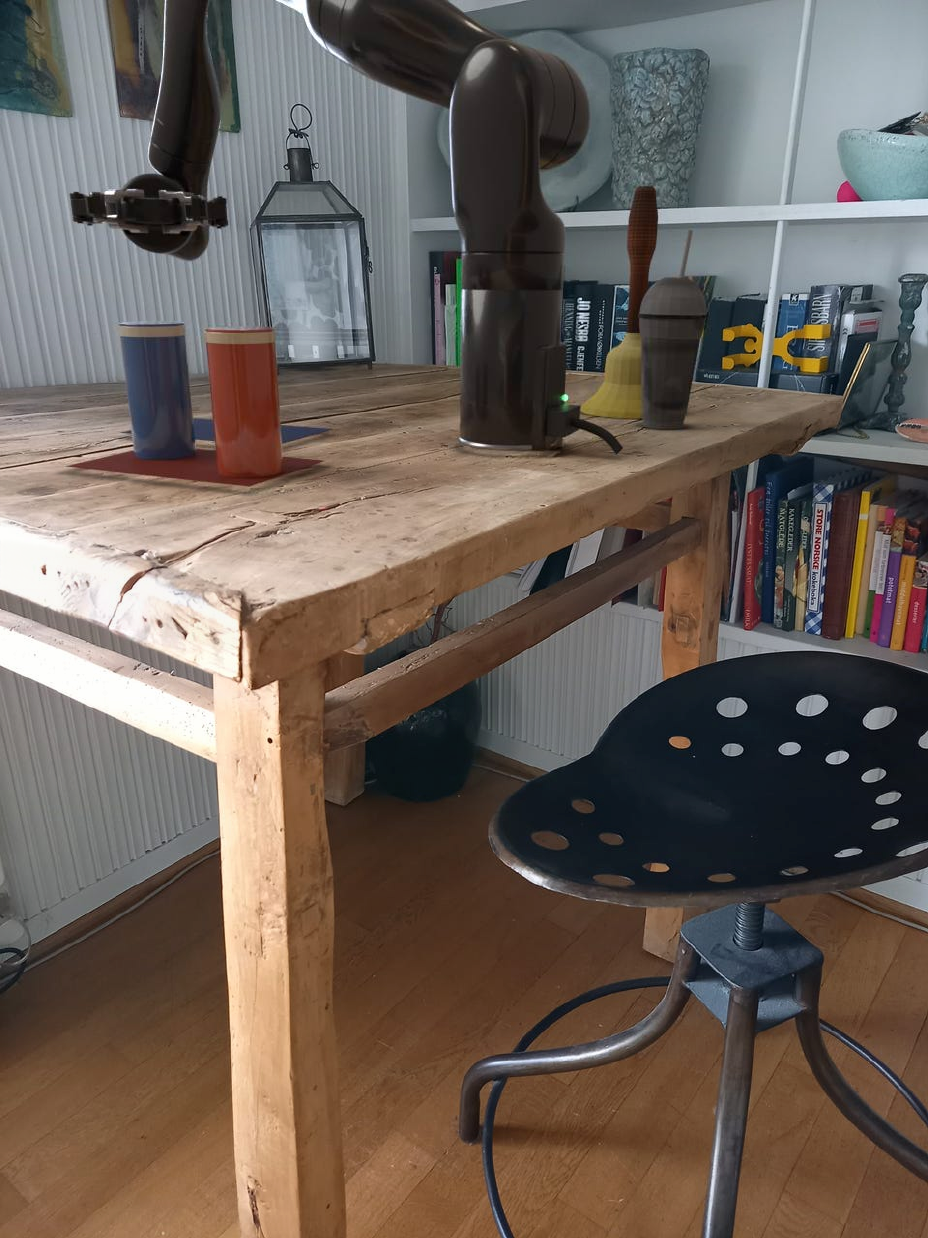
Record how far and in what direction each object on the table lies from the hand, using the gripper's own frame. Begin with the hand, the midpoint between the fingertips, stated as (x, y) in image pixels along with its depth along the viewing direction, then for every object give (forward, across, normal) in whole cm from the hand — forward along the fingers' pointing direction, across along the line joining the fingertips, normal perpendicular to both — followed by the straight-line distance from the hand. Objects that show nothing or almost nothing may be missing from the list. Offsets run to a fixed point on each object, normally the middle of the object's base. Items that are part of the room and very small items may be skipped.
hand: (147, 206), depth 82 cm
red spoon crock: (+20, +7, +20) cm, 30 cm away
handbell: (-10, +54, +21) cm, 58 cm away
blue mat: (-1, +6, +21) cm, 22 cm away
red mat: (+16, +3, +21) cm, 26 cm away
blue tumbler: (+11, 0, +20) cm, 23 cm away
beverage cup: (+2, +52, +21) cm, 56 cm away
